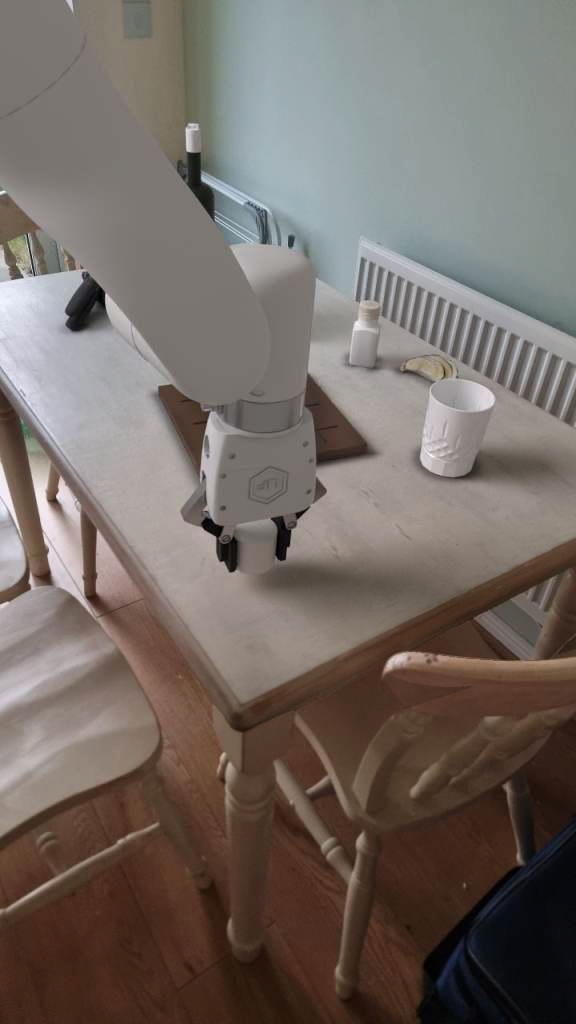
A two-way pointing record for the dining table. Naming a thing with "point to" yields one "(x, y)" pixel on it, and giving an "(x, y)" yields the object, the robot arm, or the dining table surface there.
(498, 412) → the dining table surface
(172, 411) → the board
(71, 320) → the can opener
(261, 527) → the white cylinder
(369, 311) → the pepper shaker
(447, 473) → the white cup
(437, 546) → the dining table surface
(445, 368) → the oyster shell
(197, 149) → the wine bottle
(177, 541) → the dining table surface
